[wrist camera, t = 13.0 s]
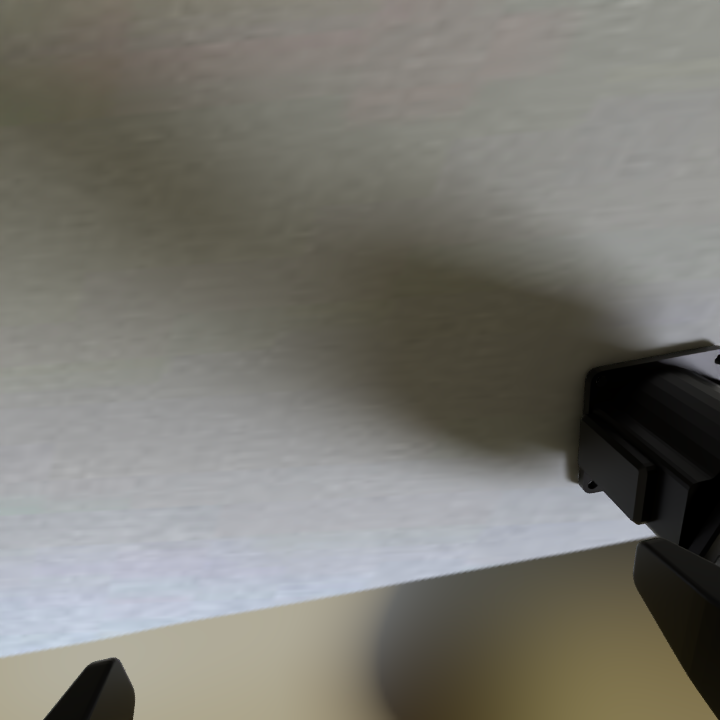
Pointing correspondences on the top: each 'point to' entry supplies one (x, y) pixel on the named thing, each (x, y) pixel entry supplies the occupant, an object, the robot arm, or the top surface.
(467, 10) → the top surface
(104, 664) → the robot arm
